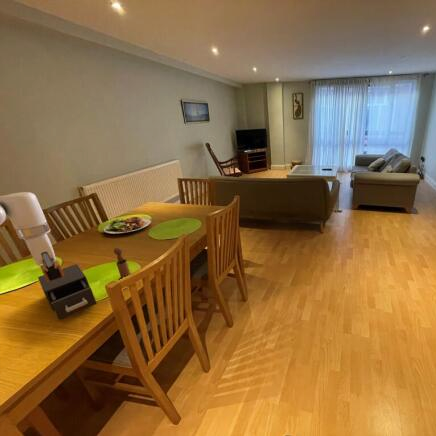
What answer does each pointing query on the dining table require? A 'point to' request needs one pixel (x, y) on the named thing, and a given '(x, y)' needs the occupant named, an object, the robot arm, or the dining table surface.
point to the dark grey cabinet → (62, 281)
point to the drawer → (72, 299)
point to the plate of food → (127, 225)
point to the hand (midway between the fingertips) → (54, 275)
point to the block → (56, 266)
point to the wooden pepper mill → (121, 263)
